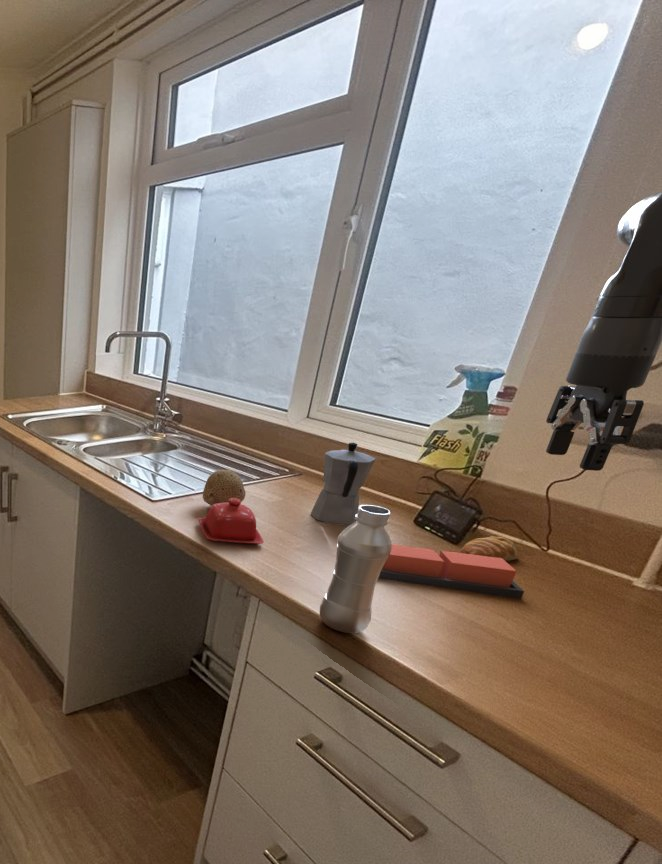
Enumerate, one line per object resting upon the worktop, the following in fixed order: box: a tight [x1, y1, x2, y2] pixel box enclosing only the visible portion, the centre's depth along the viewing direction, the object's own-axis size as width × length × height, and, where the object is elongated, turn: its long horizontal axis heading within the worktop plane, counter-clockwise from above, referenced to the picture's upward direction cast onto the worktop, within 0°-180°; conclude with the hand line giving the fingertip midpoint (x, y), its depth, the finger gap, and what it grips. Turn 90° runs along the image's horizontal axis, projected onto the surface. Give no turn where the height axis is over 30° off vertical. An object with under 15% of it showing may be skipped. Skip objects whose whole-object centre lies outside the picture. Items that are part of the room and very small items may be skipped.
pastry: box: [460, 535, 519, 562], centre depth 103 cm, size 9×7×4 cm
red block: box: [438, 550, 518, 588], centre depth 93 cm, size 9×5×4 cm, turn 69°
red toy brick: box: [382, 543, 444, 578], centre depth 97 cm, size 9×5×4 cm, turn 69°
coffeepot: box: [310, 442, 376, 527], centre depth 117 cm, size 15×9×18 cm, turn 153°
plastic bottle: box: [319, 504, 393, 634], centre depth 79 cm, size 6×7×20 cm
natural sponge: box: [202, 469, 247, 507], centre depth 125 cm, size 9×9×10 cm
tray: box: [378, 570, 525, 600], centre depth 96 cm, size 22×10×2 cm, turn 69°
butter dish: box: [198, 498, 264, 545], centre depth 112 cm, size 12×12×8 cm
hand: (571, 461), depth 80 cm, fingers open, 8 cm apart
